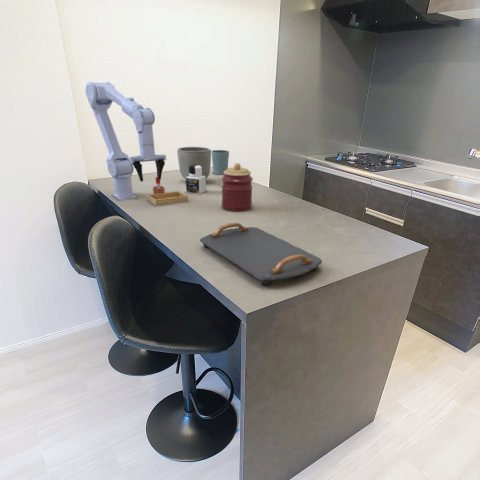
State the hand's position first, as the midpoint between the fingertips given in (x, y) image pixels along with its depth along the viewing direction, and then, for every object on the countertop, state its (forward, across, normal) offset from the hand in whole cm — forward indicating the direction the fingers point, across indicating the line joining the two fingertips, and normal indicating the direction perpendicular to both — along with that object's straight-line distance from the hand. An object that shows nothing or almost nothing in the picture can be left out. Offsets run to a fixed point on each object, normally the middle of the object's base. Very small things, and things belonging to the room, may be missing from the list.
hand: (150, 180), depth 147 cm
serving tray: (+10, +8, -68) cm, 69 cm away
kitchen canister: (+10, +30, -20) cm, 38 cm away
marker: (+10, +7, +11) cm, 16 cm away
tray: (+10, +8, +2) cm, 13 cm away
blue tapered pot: (+10, +58, +44) cm, 73 cm away
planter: (+10, +35, +30) cm, 47 cm away
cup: (+10, +7, +11) cm, 16 cm away
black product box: (+10, +26, +11) cm, 30 cm away
